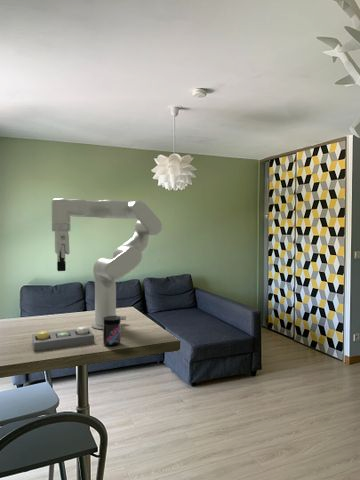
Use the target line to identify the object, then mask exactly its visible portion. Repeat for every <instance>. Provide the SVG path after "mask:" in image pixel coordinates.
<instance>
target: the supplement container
mask: <svg viewBox="0 0 360 480" xmlns="http://www.w3.org/2000/svg"><path fill="white" fill-rule="evenodd" d="M119 316H120V315H117V316H106V317H104V318H103V329H102V330H103V331H102V332H103V334H102V335H103V336H102V340H103V341H102V342H103V345H104V346H105V347H112V348H114V347H117V346H119V345H120V344H121V321H122V320H121V317H119Z"/></svg>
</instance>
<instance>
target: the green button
mask: <svg viewBox="0 0 360 480" xmlns="http://www.w3.org/2000/svg"><path fill="white" fill-rule="evenodd" d="M67 336H69V333H67V332H62V333H58V334H57V338H59V337H67Z"/></svg>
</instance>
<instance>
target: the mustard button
mask: <svg viewBox="0 0 360 480" xmlns="http://www.w3.org/2000/svg"><path fill="white" fill-rule="evenodd" d="M36 334H37V340H43V339H49V331H48V330H42V331H39V332H37V333H36Z"/></svg>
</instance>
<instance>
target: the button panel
mask: <svg viewBox="0 0 360 480" xmlns="http://www.w3.org/2000/svg"><path fill="white" fill-rule="evenodd" d="M48 332H49V331H48ZM62 332H67V333H69V336H67V337H59V338H57V334H58V333H62ZM31 339H32V346H33V347H32V348H33V351H34V352H36V351H44V350H51V349H58V348H65V347H73V346H80V345H86V344H87V345H88V344H94V343H95V334H94V333H93V332H92V331H91V329H90V328H89V327H88V334H83V335H77V328H76V329H67V330H60V331H50V332H49V339H43V340H37V333H34V334H32V338H31Z"/></svg>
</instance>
